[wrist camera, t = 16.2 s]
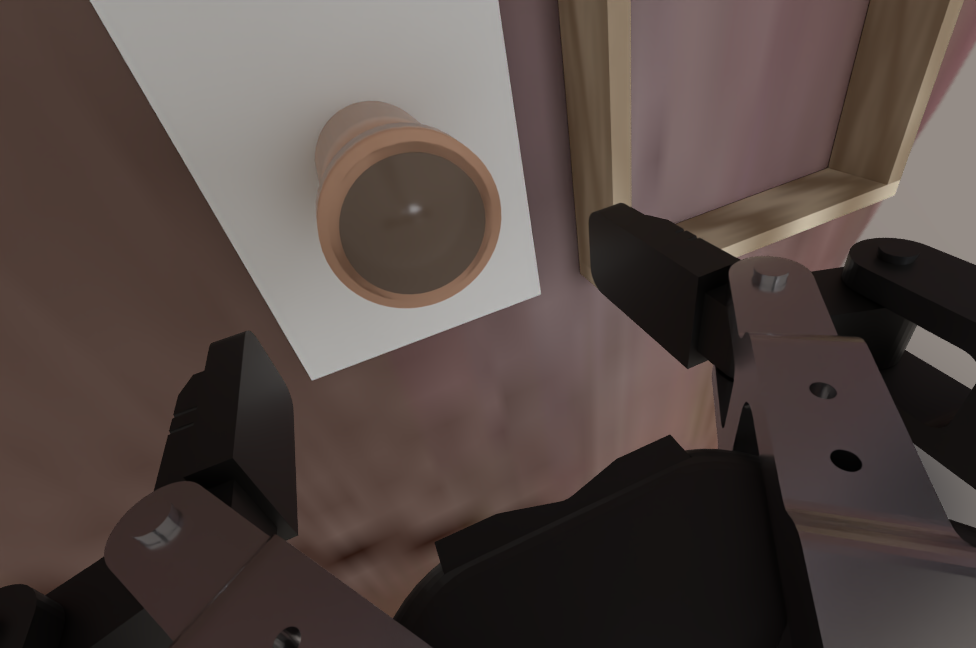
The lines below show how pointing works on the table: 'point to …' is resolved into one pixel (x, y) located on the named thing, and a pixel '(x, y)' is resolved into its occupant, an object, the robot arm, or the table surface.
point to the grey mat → (297, 125)
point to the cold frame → (789, 207)
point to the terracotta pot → (402, 207)
